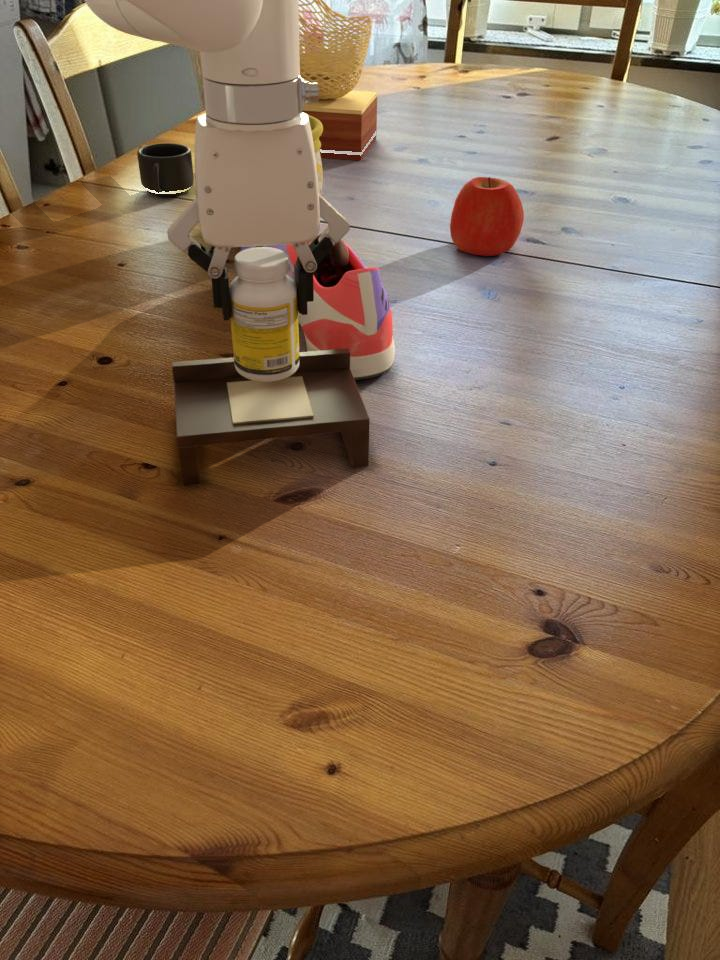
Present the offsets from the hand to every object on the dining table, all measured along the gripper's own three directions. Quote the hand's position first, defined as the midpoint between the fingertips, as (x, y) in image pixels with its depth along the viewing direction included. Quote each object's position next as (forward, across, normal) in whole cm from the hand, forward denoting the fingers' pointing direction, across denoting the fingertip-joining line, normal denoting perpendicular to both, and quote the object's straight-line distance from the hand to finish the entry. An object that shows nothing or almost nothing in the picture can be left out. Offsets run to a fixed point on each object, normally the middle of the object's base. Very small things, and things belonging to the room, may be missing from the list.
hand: (264, 309), depth 78 cm
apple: (+15, -38, -48) cm, 63 cm away
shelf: (+15, 0, 0) cm, 15 cm away
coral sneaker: (+15, -8, -28) cm, 32 cm away
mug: (+15, +9, -80) cm, 82 cm away
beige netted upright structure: (+15, -20, -108) cm, 111 cm away
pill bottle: (+6, 0, 0) cm, 6 cm away
